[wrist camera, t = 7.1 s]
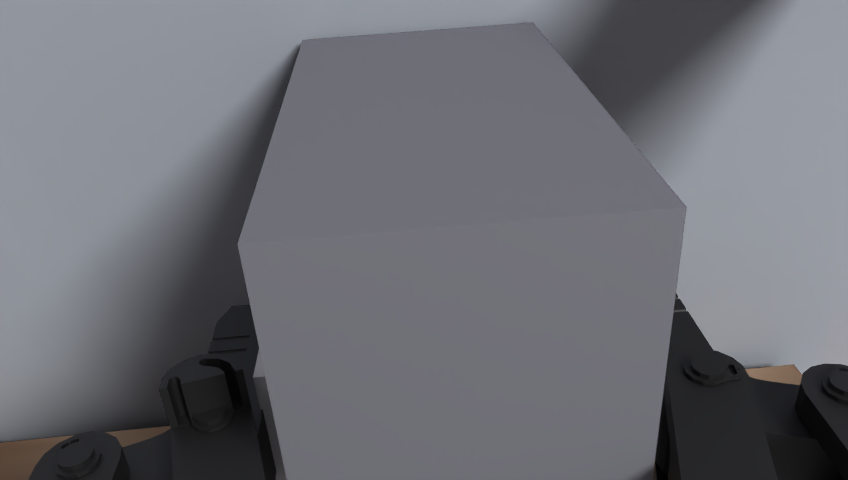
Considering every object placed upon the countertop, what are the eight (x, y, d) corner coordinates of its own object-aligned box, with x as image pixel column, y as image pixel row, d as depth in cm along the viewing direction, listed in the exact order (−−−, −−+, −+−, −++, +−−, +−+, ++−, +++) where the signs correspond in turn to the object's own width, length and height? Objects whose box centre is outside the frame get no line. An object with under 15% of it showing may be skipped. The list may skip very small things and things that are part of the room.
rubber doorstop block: (352, 396, 21) (341, 738, 13) (302, 39, 16) (237, 243, 8) (528, 381, 21) (623, 710, 13) (533, 22, 16) (686, 206, 8)
